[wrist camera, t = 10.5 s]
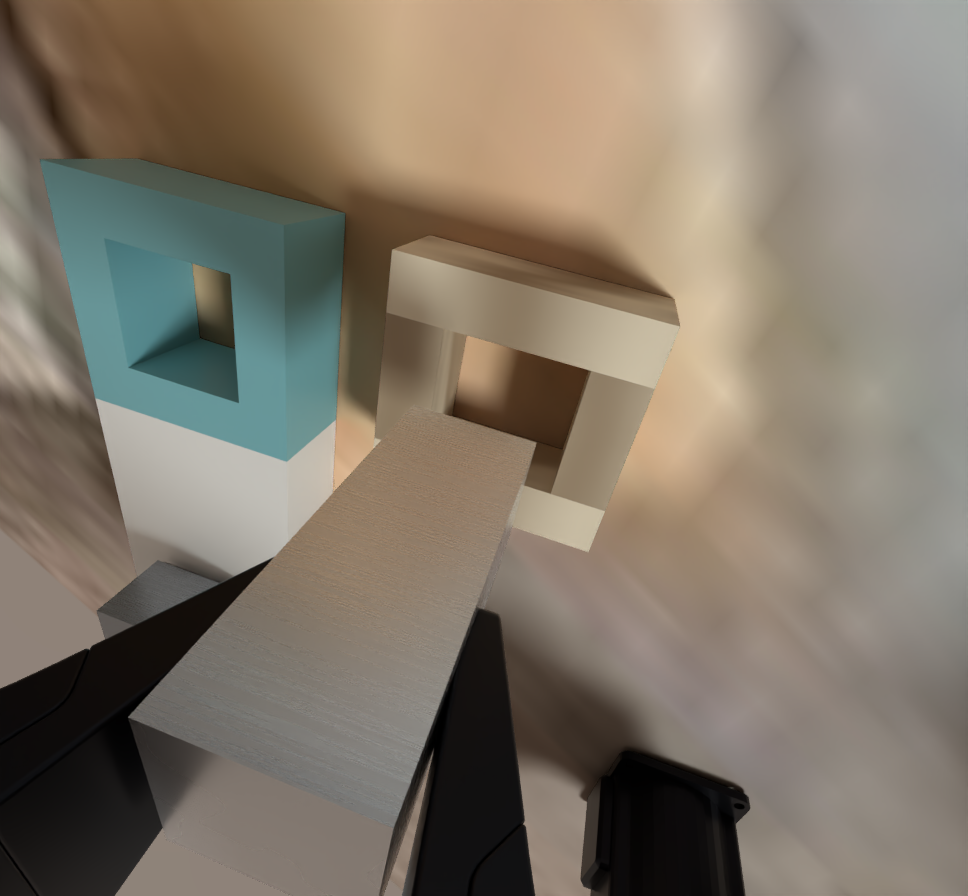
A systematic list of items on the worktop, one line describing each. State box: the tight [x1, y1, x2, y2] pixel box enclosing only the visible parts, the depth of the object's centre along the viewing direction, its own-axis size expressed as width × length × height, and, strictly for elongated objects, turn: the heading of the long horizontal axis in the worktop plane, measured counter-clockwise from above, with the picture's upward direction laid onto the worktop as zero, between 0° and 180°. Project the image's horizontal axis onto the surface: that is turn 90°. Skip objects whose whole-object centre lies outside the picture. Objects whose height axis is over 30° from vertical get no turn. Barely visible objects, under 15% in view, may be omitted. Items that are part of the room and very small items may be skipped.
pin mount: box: [374, 235, 680, 552], centre depth 17 cm, size 8×8×3 cm
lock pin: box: [128, 405, 536, 896], centre depth 9 cm, size 3×3×8 cm
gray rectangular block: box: [97, 560, 221, 639], centre depth 24 cm, size 4×6×7 cm
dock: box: [40, 159, 345, 582], centre depth 22 cm, size 8×22×4 cm, turn 169°
